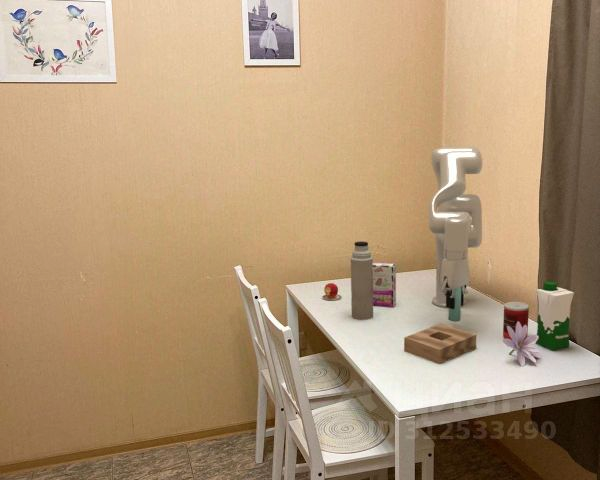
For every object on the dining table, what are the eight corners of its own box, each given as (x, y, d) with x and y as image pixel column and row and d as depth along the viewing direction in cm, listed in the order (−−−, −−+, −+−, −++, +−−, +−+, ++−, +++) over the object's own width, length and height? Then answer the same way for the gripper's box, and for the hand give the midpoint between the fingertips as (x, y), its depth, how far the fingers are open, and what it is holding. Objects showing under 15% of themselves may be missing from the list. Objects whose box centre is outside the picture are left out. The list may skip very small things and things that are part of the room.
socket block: (440, 336, 208) (440, 323, 207) (476, 348, 197) (476, 334, 196) (404, 350, 197) (404, 337, 196) (439, 363, 186) (439, 349, 185)
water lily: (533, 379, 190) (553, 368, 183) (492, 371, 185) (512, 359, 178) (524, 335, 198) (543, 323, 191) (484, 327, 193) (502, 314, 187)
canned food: (527, 334, 208) (528, 302, 205) (527, 342, 200) (529, 309, 198) (503, 332, 210) (504, 300, 208) (502, 340, 203) (503, 308, 201)
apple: (342, 300, 250) (341, 285, 249) (322, 301, 250) (321, 285, 249) (341, 295, 258) (340, 279, 257) (321, 295, 258) (321, 280, 257)
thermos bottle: (374, 313, 234) (373, 240, 228) (372, 320, 226) (371, 244, 220) (352, 312, 235) (351, 239, 230) (350, 319, 228) (349, 244, 222)
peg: (453, 316, 214) (454, 271, 210) (462, 319, 211) (464, 274, 207) (445, 319, 211) (446, 274, 207) (455, 322, 208) (456, 276, 204)
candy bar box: (396, 303, 244) (396, 263, 240) (393, 307, 239) (393, 266, 236) (368, 301, 248) (368, 261, 245) (365, 305, 244) (364, 264, 240)
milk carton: (552, 338, 203) (555, 279, 199) (574, 347, 195) (577, 286, 191) (531, 343, 200) (534, 283, 196) (552, 352, 191) (556, 290, 187)
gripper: (462, 247, 213) (460, 297, 218) (430, 257, 203) (429, 309, 208) (480, 251, 208) (479, 303, 212) (449, 261, 197) (447, 315, 202)
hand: (454, 305), depth 210 cm, fingers closed on peg, 4 cm apart
